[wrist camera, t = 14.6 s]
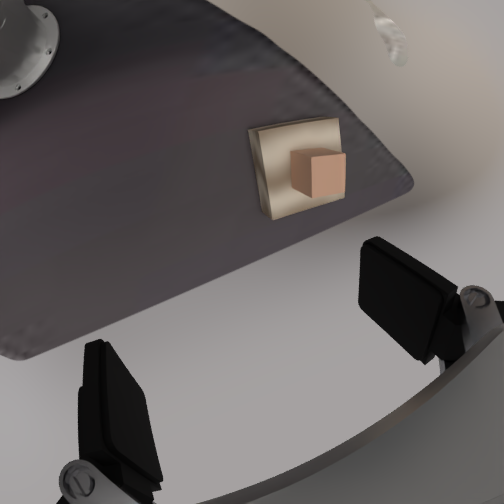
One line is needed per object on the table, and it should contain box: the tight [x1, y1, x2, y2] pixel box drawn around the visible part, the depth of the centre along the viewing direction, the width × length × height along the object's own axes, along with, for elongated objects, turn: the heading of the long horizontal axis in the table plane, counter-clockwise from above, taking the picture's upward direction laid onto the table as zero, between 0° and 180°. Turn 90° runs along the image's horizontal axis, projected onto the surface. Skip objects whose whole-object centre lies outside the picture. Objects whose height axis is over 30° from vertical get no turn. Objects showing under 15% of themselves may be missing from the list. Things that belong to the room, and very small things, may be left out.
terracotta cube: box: [290, 148, 346, 198], centre depth 36 cm, size 5×5×5 cm
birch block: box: [248, 117, 345, 220], centre depth 40 cm, size 12×12×4 cm
